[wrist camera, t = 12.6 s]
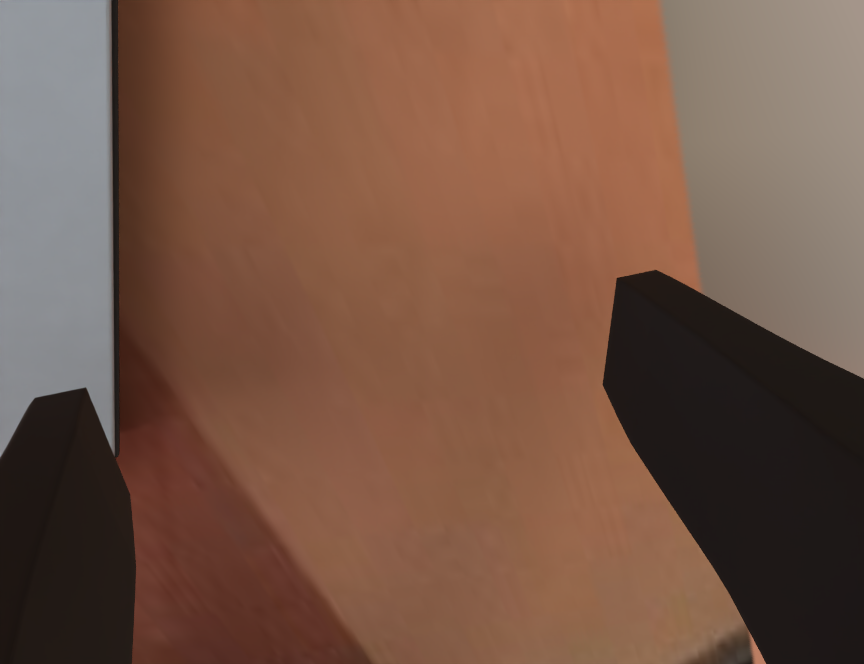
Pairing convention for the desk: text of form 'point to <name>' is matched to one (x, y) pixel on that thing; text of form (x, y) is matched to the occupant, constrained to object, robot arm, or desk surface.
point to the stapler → (59, 206)
